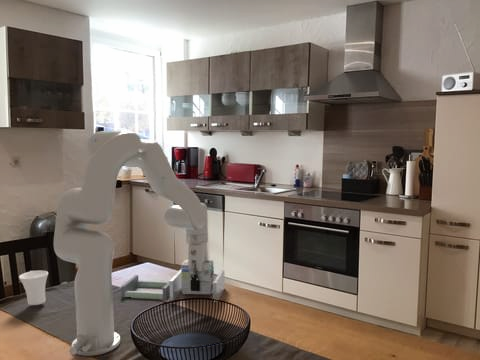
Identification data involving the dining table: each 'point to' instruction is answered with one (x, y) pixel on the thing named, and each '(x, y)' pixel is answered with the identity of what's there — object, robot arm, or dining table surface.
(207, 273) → the light bulb box
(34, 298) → the cup
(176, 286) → the white holder
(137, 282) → the tray
